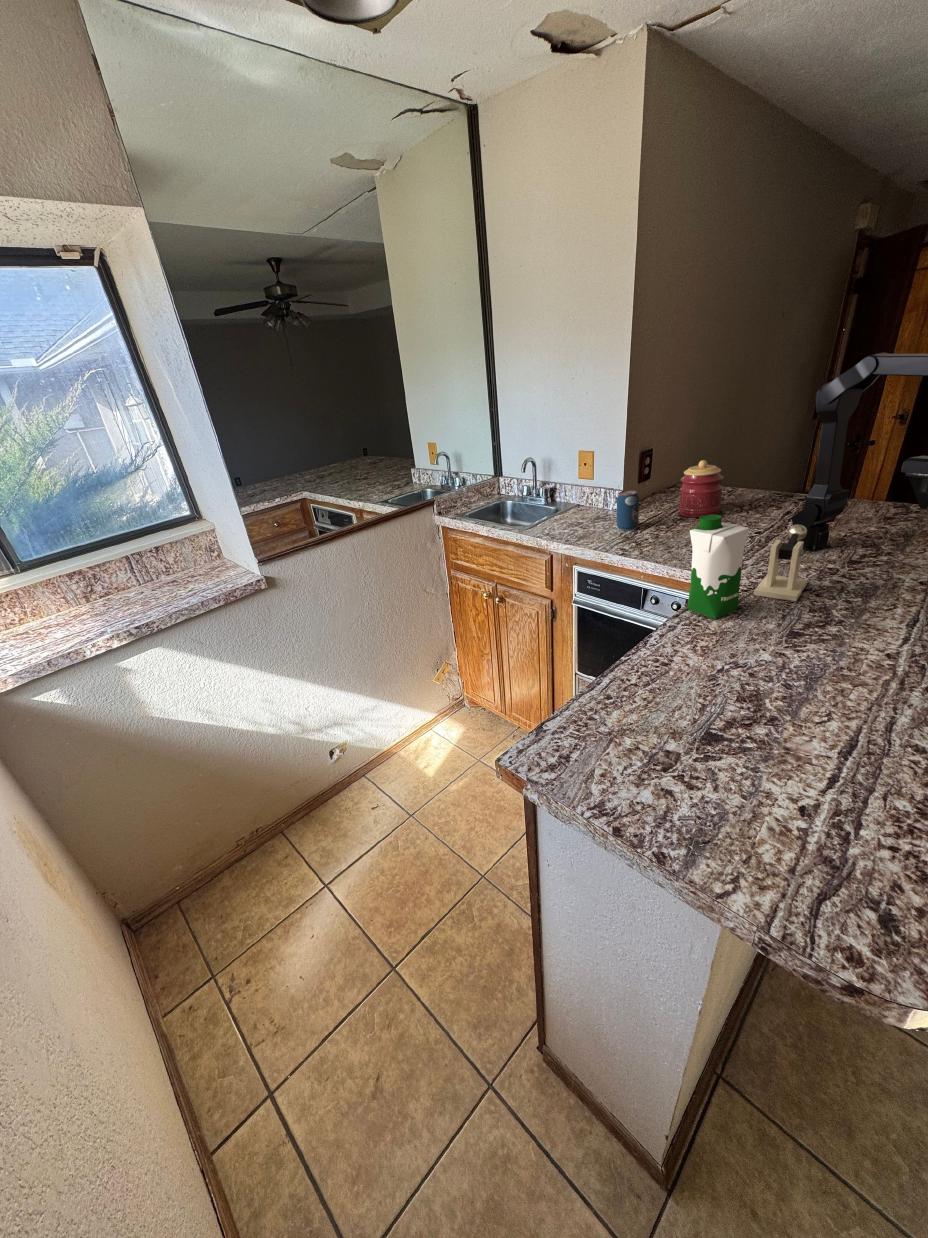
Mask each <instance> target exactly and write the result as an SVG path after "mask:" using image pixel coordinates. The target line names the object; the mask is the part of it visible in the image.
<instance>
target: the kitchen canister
mask: <svg viewBox="0 0 928 1238" xmlns="http://www.w3.org/2000/svg"><path fill="white" fill-rule="evenodd" d="M721 472H722V468H720V467H718V466H717V465H715V464H708V461H707V460H705V459H701V460H700V461H699V462H698V465H694V466H693V465H692V466H690V467H688V469H686V470H684V471H683V474H684V476H682V477H681V478H680V482H681V487H680V497H679V506H678V507H679V508H678V510H679V514H680V515H681V516H683V517H689V518H700V517H701V516H703V515H719V513H720V512H721V509H722V493H723V488H724V487H723V485H722V481H723V480H724V478H725V477H724V475H723V474H721Z"/></svg>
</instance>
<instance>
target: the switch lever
mask: <svg viewBox="0 0 928 1238" xmlns="http://www.w3.org/2000/svg"><path fill="white" fill-rule="evenodd" d="M806 534H807V529H806V527H805V526H803V525H800V524H796V525H793V524H792V525H791V526H790V527H789V528H788V529H787V536H788V538H789V539H788V541H787V543H786V542H785V543H781V547H780V549H779V556H778V559H779V560H783V561H791V559H792V553H793V548H794V544H795V542H796V541H797V540H801V539H803V538H804V537H805V536H806Z"/></svg>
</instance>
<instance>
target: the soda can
mask: <svg viewBox="0 0 928 1238" xmlns="http://www.w3.org/2000/svg"><path fill="white" fill-rule="evenodd" d="M639 505H640V497H639V495H638V491H636V490H623V491H619V492H618V495H617V498H616V527H617V529H619V530H620V531H627V532H628V531H633V530H635V529H637V528H638V526H639V521H640V519H639V518H640V517H639V516H640V515H639V514H640V513H639V509H640V508H639V507H640V506H639Z"/></svg>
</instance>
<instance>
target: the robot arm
mask: <svg viewBox="0 0 928 1238" xmlns="http://www.w3.org/2000/svg"><path fill="white" fill-rule="evenodd" d="M880 376H897V377H898V376H900V377H901V376H903V377H928V353H889V352H879V353H875V354H868V355H867V356H865V357H864V358H863V359H861V360H860V361H858V363H857V364H855V365H854V366H852V367H851V368H849V369H847V370H846V371H844V372H843V373H841V374H840V375H838V376H836V377H835V378H834V379H833V380H832V381H828V382H826V383H825V384H823V385H822V386H821V387H820V388H819V389H818V391H817V392H816V396H815V402H816V403H815V407H816V413H817V415H818V417H819V419H820V422H821V431H820V438H819V447H818V453H817V454H818V455H817V463H816V471H815V478H814V479H815V480H814V484H813V486H812V488H810V490H809V492H808V494H806V495H807V496H806V498H805V501H804V504H803V508H802V509H801V510H800V511H798V512H797V513H795V514H794V515H792V516H791V523H792V526H793V525H796V524H800V525H803V526H805V527H806V529H807V534H806V536H805V537H804V538H803V539H801V540H797V541H796V542H795V544H794V546H795V545H796V544H797V542H798V541H802V542H804V544H803V549H802V550H804V551H808V552H814V551H818V550H821V549H824V548H827V547H830V545H831V544H830V543H828V541H829V536H830V530H829V528H830V524H829V523H831V522H835V520H836V518H837V517H838V516H840V515H841V514H842V513H843V512H844V510H845V508H846V507H848V506H849V503H848V497H849V495H850V490H849V489H844V488H843V487H842V485H841V476H842V468H843V461H844V455H845V448H846V447H845V446H846V440H847V435H848V434H847V432H848V426H849V420H850V419H851V417H852V416H853V414H854V413H855V411H856V409H857V408H858V406H859V403H860V400H861V397H862V394H863V392H864V391H866V390H867V389H868V388H870V387H871V386H872V385H874V384H875V382H876V381H877V380H878V378H879V377H880ZM900 473H904V476H905V477H908V480H909V482H910V484H911V486H912V488H913V491H914V494H915V498H916V500H917V504H918V506H919V509H923V510H927V509H928V455H919V456H911V457H908V458H907V459H905V460H904V461H903V462H902V465H901V468H900Z"/></svg>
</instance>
